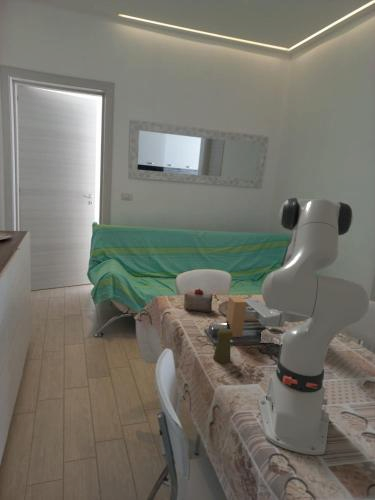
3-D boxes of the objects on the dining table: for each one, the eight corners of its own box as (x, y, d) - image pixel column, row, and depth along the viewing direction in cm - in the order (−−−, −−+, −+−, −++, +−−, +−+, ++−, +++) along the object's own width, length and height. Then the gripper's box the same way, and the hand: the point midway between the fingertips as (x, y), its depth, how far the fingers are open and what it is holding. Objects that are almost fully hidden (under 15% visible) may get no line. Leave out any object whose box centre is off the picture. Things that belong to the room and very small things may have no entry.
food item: (181, 310, 159) (183, 290, 158) (183, 304, 167) (185, 285, 165) (211, 314, 158) (213, 294, 157) (211, 308, 166) (213, 288, 164)
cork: (229, 365, 115) (233, 335, 113) (212, 361, 116) (215, 331, 114) (231, 356, 121) (235, 327, 119) (214, 353, 122) (217, 324, 120)
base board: (257, 329, 146) (257, 327, 146) (271, 343, 135) (271, 340, 134) (204, 331, 139) (204, 328, 139) (214, 345, 128) (214, 342, 128)
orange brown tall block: (236, 330, 140) (240, 296, 137) (242, 336, 134) (246, 302, 131) (224, 330, 138) (229, 296, 135) (230, 337, 133) (234, 302, 130)
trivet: (233, 300, 182) (233, 296, 181) (278, 314, 168) (279, 310, 167) (208, 312, 162) (208, 308, 161) (257, 329, 148) (257, 325, 147)
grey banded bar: (261, 331, 142) (263, 320, 141) (266, 335, 138) (267, 324, 137) (208, 333, 135) (209, 321, 134) (211, 337, 132) (213, 325, 131)
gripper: (262, 295, 148) (233, 295, 144) (288, 313, 129) (254, 314, 125) (260, 309, 149) (231, 309, 145) (285, 329, 130) (252, 330, 126)
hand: (242, 311), depth 135 cm, fingers closed, pressing on orange brown tall block
